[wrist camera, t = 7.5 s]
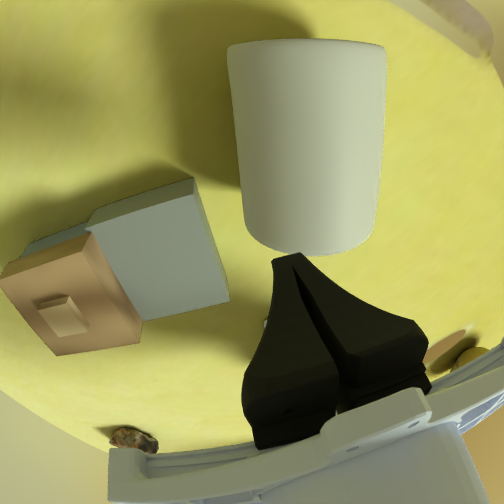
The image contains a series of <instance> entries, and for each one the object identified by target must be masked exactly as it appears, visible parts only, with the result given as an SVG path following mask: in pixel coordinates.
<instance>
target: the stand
mask: <svg viewBox="0 0 504 504" xmlns="http://www.w3.org/2000/svg"><path fill="white" fill-rule="evenodd" d="M84 229H85V231H86V233H90V232H92V233H93V235H94V237H95V239H96V241H97V243H98V245H99V246H100V248H101V250H102V252H103V254H104V256H105V258H106V259H107V261H108V263H109V265H110V267H111V269H112V270H113V272H114V274H115V276H116V277H117V279H118V281H119V283H120V284H121V286H122V288H123V289H124V291H125V293H126V294H127V296H128V298H129V299H130V301H131V303H132V304H133V306H134V308H135V309H136V311H137V312H138V314H139V316H140V317H141V319H142V320H143V321H148V320H153V319H157V318H162V317H166V316H170V315H175V314H179V313H184V312H188V311H192V310H196V309H201V308H205V307H209V306H213V305H217V304H221V303H225V302H229V301H230V297H229V290H228V283H227V277H226V274H225V271H224V268H223V265H222V262H221V259H220V256H219V253H218V250H217V247H216V244H215V241H214V238H213V235H212V232H211V229H210V226H209V223H208V220H207V217H206V214H205V210H204V207H203V204H202V201H201V198H200V195H199V192H198V188H197V185H196V182H195V179H194V177H193V178H190V179H186V180H183V181H179V182H176V183H173V184H169V185H166V186H163V187H160V188H156V189H153V190H150V191H147V192H144V193H141V194H138V195H135V196H132V197H129V198H126V199H123V200H120V201H117V202H114V203H111V204H108V205H106V206H103V207H100V208H97V209H96V210H95V211H94V213H93V215H92V216H91V218H90V220H89V222H88V223H87V225H86V227H85V228H84Z"/></svg>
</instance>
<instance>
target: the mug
mask: <svg viewBox="0 0 504 504" xmlns="http://www.w3.org/2000/svg"><path fill="white" fill-rule="evenodd" d="M227 66H228V74H229V82H230V89H231V97H232V106H233V116H234V125H235V135H236V145H237V155H238V164H239V174H240V184H241V193H242V203H243V212H244V220H245V225H246V227H247V230H248V231H249V233H250V234H251V235H252V236H253V237H254V238H255V239H256V240H257V241H258V242H260V243H261V244H263V245H265V246H267V247H269V248H271V249H274V250H276V251H280V252H283V253H288V254H294V253H298V252H301V253H302V254H303V255H304V256H326V255H333V254H338V253H342V252H345V251H349V250H351V249H353V248H355V247H357V246H359V245H360V244H362V243H363V242H364V241H366V240H367V239H368V237H369V236H370V235H371V233H372V231H373V228H374V224H375V218H376V211H377V204H378V195H379V187H380V177H381V167H382V155H383V142H384V125H385V104H386V80H387V57H386V51H385V49H384V47H382V46H380V45H376V44H371V43H365V42H358V41H349V40H338V39H317V38H293V39H272V40H261V41H252V42H245V43H239V44H234V45H231V46H229V47H228V48H227Z"/></svg>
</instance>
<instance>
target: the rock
mask: <svg viewBox="0 0 504 504" xmlns="http://www.w3.org/2000/svg"><path fill="white" fill-rule="evenodd" d="M109 443H110V444H111V445H113V446H116V447H118V448H137V449H140V450H142V451H143V452H144V453H145V454H156V453H157V450H158V449H159V446H158V441H157V440H156V439H155V438H152V437H150V436H148V435H146V434H143V433H142V432H139V431H138V430H136V429H128V428H125V427H124V428H120V429H119V430H118V431H116V432H115V433H114V434H113V435H111V438H110V441H109Z"/></svg>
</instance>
